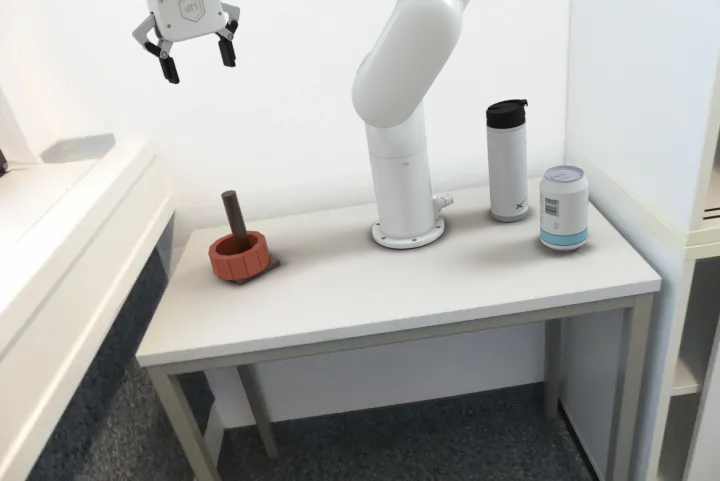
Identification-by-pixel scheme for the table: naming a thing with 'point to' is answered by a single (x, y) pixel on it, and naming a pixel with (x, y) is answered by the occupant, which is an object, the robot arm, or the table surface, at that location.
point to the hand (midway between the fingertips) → (203, 74)
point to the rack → (242, 232)
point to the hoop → (239, 257)
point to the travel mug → (507, 159)
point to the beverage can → (564, 208)
